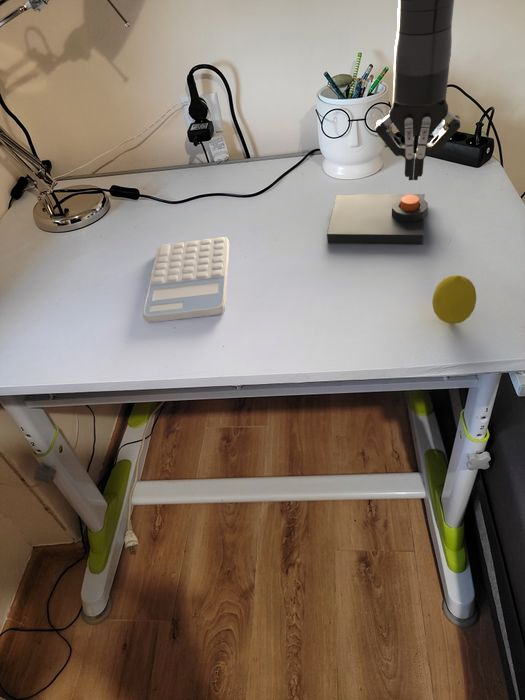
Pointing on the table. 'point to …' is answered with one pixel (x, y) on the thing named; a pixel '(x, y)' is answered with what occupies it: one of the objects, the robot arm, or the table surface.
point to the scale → (376, 220)
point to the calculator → (188, 280)
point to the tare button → (410, 202)
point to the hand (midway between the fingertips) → (413, 177)
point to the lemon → (454, 299)
